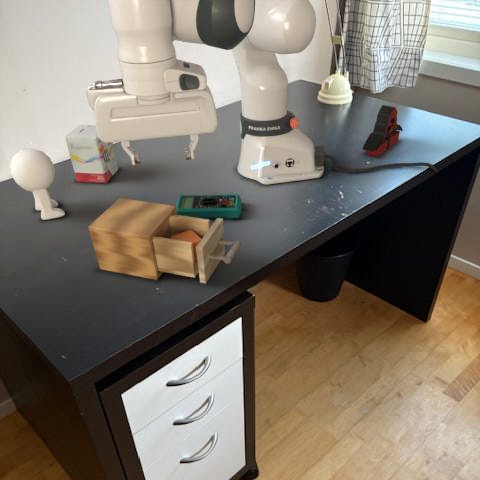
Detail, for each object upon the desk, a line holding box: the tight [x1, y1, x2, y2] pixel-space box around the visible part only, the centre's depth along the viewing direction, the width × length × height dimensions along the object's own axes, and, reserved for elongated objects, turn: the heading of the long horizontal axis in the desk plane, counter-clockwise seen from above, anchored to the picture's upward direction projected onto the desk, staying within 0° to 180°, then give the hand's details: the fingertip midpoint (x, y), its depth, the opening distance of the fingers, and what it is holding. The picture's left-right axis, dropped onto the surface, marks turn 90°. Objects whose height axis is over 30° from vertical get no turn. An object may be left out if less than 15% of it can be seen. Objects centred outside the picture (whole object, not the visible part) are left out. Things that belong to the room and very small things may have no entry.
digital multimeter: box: [175, 193, 243, 220], centre depth 108 cm, size 7×15×3 cm, turn 89°
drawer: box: [152, 214, 242, 284], centre depth 90 cm, size 16×10×8 cm, turn 71°
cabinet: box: [88, 197, 177, 281], centre depth 93 cm, size 13×12×10 cm
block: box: [170, 230, 202, 263], centre depth 91 cm, size 4×4×4 cm
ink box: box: [64, 124, 119, 184], centre depth 122 cm, size 9×9×12 cm
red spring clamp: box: [361, 104, 404, 158], centre depth 128 cm, size 18×4×11 cm, turn 142°
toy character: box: [9, 148, 66, 221], centre depth 107 cm, size 9×9×15 cm
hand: (163, 160), depth 84 cm, fingers open, 8 cm apart
